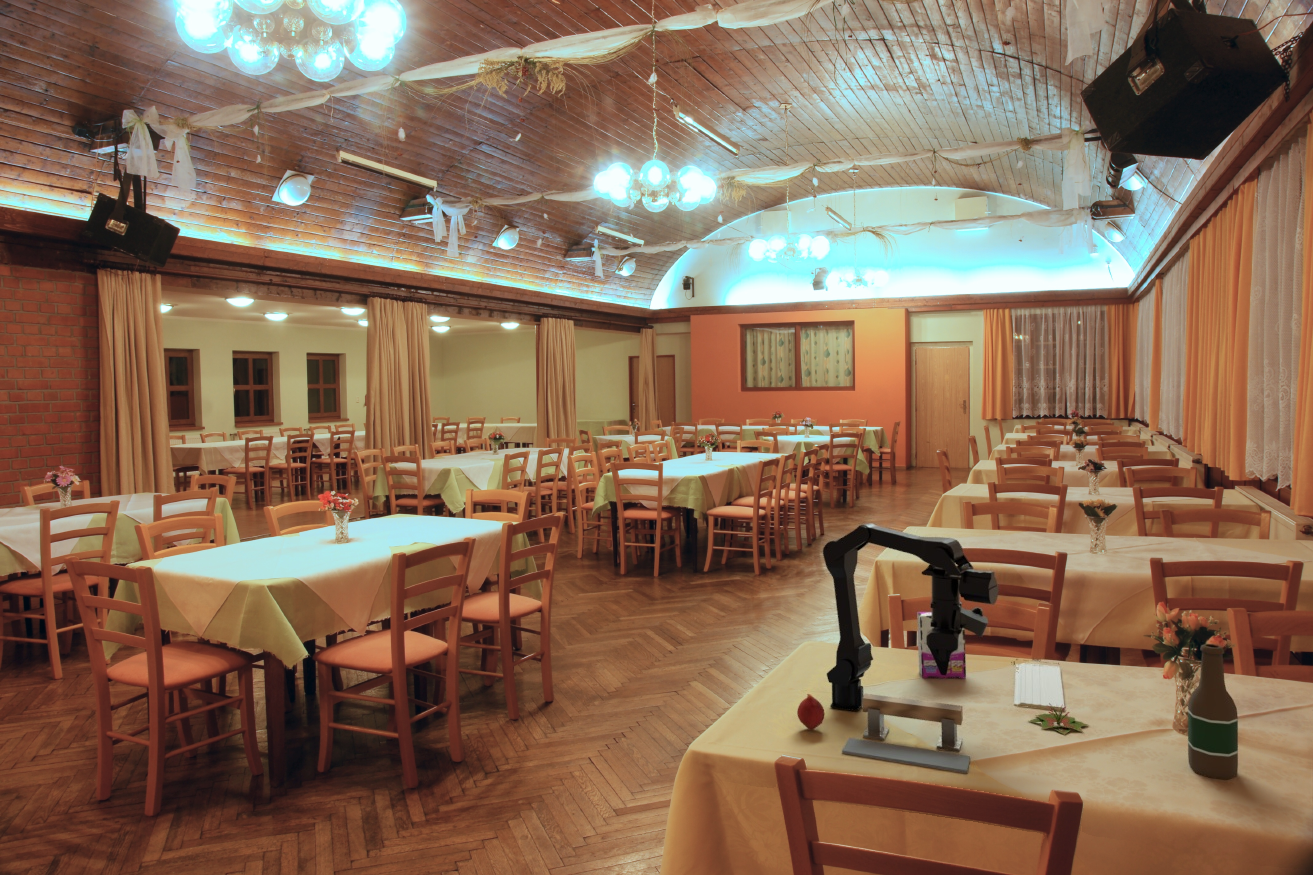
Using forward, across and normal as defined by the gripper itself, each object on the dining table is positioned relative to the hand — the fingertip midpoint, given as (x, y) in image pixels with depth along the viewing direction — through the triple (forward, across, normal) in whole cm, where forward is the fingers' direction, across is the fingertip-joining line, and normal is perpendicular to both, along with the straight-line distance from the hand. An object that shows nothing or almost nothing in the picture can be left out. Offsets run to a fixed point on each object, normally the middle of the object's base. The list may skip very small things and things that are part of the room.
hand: (945, 668), depth 174 cm
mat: (+14, -17, +6) cm, 22 cm away
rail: (+9, -8, +6) cm, 13 cm away
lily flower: (+14, +11, -23) cm, 29 cm away
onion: (+14, -10, +27) cm, 32 cm away
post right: (+13, -8, -1) cm, 16 cm away
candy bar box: (+14, +36, +4) cm, 39 cm away
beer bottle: (+13, -4, -48) cm, 50 cm away
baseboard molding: (+14, +36, -18) cm, 42 cm away
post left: (+14, -8, +14) cm, 21 cm away
